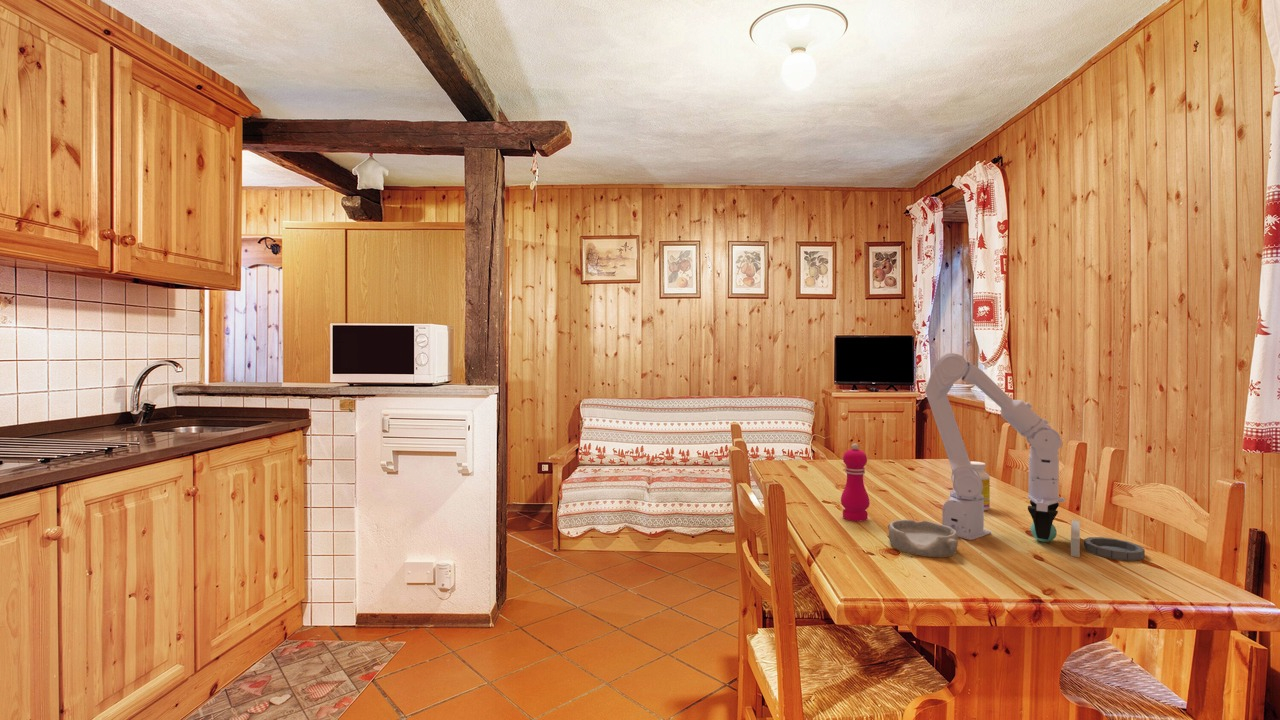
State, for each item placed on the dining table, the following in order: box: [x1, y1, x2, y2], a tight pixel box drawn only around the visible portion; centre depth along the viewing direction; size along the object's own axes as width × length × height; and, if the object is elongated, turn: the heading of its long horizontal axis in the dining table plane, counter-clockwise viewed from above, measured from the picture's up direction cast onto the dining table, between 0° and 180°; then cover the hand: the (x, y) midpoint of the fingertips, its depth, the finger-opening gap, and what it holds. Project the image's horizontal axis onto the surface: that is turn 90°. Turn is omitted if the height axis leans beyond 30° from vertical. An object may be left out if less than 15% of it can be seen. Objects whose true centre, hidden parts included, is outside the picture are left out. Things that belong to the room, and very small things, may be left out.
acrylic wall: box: [1070, 519, 1081, 558], centre depth 131 cm, size 16×2×4 cm, turn 143°
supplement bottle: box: [970, 460, 991, 511], centre depth 162 cm, size 7×7×13 cm
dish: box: [887, 519, 959, 558], centre depth 131 cm, size 14×14×5 cm
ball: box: [1030, 521, 1057, 543], centre depth 134 cm, size 5×5×5 cm
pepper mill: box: [840, 443, 870, 522], centre depth 154 cm, size 7×7×20 cm
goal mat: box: [1083, 536, 1146, 562], centre depth 126 cm, size 10×10×2 cm
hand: (1043, 535), depth 134 cm, fingers closed on ball, 5 cm apart
